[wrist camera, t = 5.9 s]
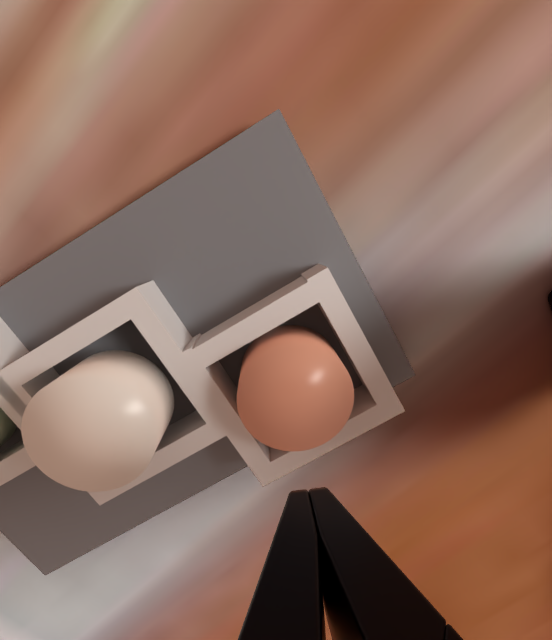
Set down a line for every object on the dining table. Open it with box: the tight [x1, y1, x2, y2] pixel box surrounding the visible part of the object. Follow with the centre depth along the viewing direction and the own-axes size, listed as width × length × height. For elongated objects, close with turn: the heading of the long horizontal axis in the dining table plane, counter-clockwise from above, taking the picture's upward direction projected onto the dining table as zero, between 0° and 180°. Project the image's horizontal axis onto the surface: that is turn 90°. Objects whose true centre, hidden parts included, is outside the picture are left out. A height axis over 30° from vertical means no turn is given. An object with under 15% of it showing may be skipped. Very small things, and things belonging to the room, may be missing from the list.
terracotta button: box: [237, 325, 354, 451], centre depth 14 cm, size 4×4×3 cm
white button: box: [21, 350, 174, 492], centre depth 13 cm, size 4×4×3 cm
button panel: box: [0, 109, 415, 575], centre depth 15 cm, size 13×22×4 cm, turn 120°
